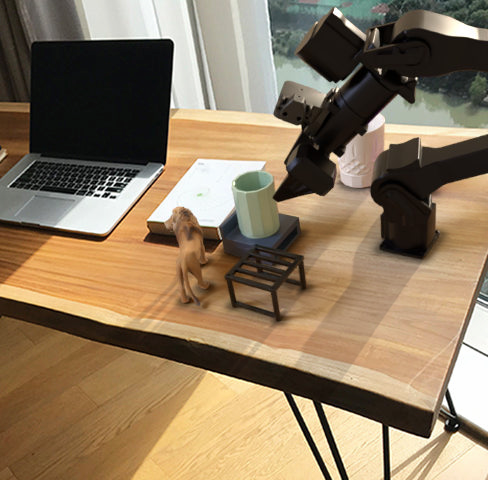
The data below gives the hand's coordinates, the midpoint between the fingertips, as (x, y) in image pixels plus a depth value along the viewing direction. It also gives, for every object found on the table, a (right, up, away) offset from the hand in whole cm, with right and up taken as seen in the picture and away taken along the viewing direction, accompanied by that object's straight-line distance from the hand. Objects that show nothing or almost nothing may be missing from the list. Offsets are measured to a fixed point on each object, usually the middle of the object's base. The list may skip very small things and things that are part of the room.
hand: (280, 181), depth 96 cm
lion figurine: (-12, -13, +6) cm, 19 cm away
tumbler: (-2, -6, +6) cm, 9 cm away
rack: (-2, -16, -2) cm, 17 cm away
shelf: (-2, -8, +8) cm, 12 cm away
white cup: (+16, +3, +17) cm, 23 cm away
